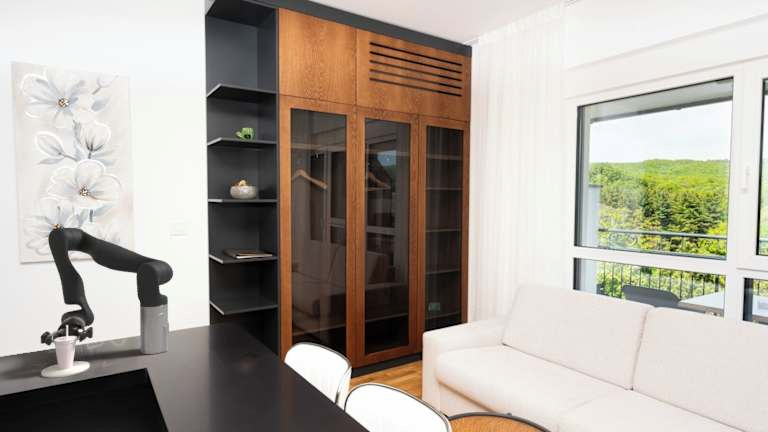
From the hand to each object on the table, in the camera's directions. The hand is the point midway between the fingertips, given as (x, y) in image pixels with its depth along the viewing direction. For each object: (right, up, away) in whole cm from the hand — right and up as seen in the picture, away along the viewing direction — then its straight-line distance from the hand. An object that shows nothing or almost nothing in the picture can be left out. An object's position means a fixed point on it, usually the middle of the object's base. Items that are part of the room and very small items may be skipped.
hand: (64, 340), depth 147 cm
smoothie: (-1, -10, +2) cm, 10 cm away
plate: (-1, -10, +2) cm, 10 cm away
